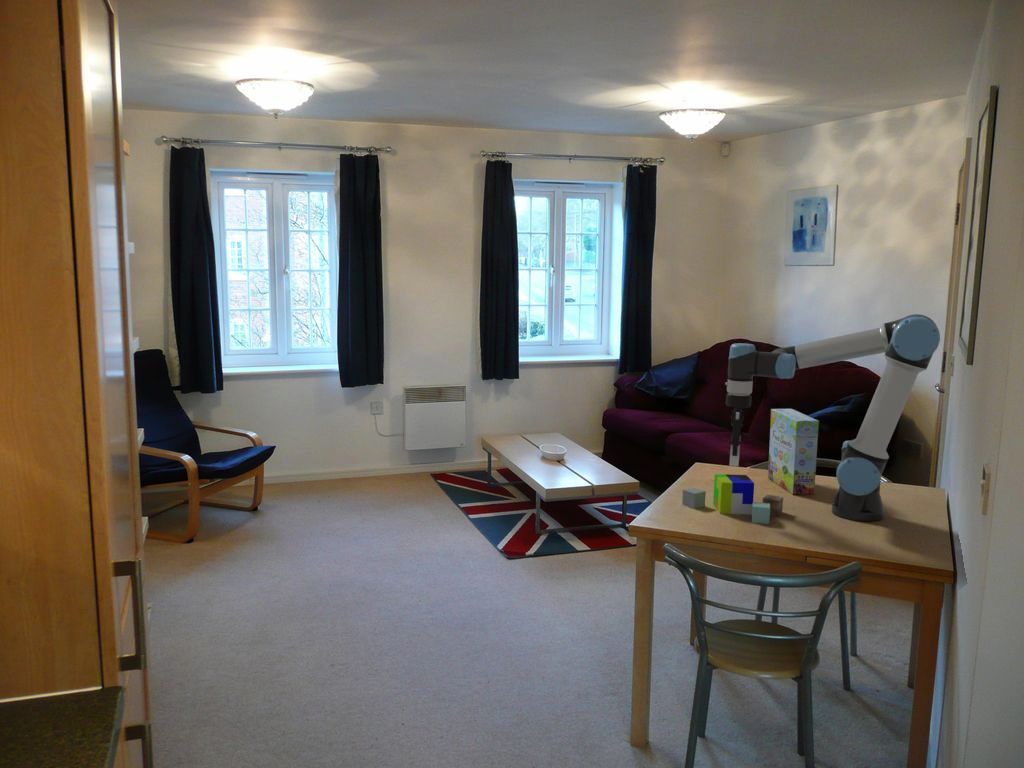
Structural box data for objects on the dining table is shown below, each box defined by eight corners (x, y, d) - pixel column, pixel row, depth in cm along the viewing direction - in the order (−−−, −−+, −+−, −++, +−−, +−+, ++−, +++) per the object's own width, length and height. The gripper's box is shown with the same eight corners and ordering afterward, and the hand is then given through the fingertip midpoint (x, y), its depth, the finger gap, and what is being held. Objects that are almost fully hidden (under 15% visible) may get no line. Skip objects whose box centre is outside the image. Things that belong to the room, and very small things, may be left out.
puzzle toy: (752, 514, 263) (754, 483, 261) (719, 513, 263) (721, 482, 261) (744, 505, 273) (746, 474, 271) (713, 504, 273) (714, 474, 271)
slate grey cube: (704, 506, 270) (705, 491, 270) (693, 509, 267) (694, 493, 267) (693, 502, 274) (694, 487, 274) (682, 505, 272) (683, 489, 271)
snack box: (765, 478, 306) (769, 408, 302) (788, 478, 307) (793, 408, 303) (791, 495, 284) (796, 420, 280) (815, 495, 285) (821, 419, 281)
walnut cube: (782, 512, 265) (783, 497, 265) (778, 516, 261) (779, 500, 260) (766, 509, 268) (767, 494, 267) (761, 513, 264) (762, 498, 263)
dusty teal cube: (768, 519, 258) (769, 503, 258) (769, 524, 254) (770, 508, 253) (751, 517, 260) (752, 501, 259) (751, 522, 255) (752, 506, 254)
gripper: (727, 386, 275) (723, 450, 278) (725, 399, 251) (720, 468, 255) (751, 388, 273) (746, 452, 276) (751, 401, 249) (746, 471, 253)
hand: (734, 460), depth 265 cm, fingers open, 13 cm apart
